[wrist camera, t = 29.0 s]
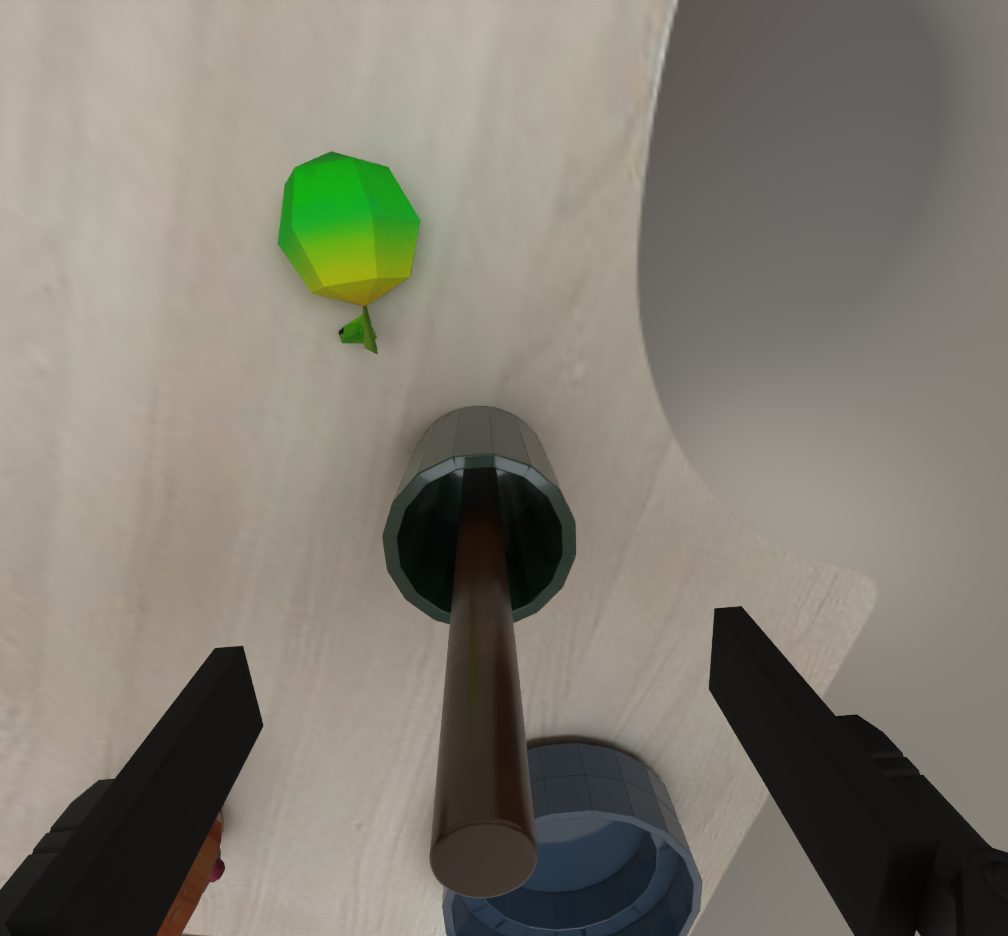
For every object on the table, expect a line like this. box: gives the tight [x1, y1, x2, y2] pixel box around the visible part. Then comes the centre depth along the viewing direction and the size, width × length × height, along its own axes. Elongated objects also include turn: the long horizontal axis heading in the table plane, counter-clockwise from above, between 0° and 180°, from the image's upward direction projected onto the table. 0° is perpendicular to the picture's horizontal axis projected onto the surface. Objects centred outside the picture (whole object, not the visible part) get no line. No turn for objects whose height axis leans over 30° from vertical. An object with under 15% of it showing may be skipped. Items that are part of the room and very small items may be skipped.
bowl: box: [442, 743, 702, 936], centre depth 37 cm, size 17×17×6 cm
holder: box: [382, 406, 576, 624], centre depth 26 cm, size 8×8×10 cm
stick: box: [430, 468, 538, 898], centre depth 20 cm, size 2×2×22 cm
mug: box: [156, 812, 225, 936], centre depth 31 cm, size 15×8×15 cm, turn 136°
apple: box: [278, 152, 420, 354], centre depth 25 cm, size 7×6×9 cm
